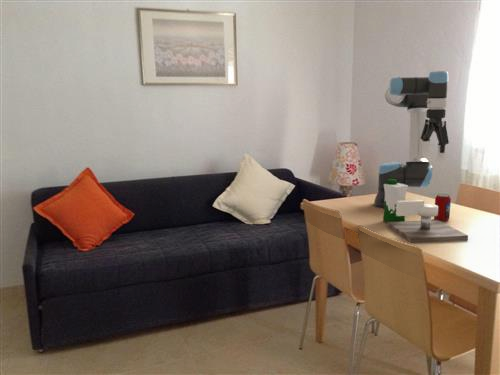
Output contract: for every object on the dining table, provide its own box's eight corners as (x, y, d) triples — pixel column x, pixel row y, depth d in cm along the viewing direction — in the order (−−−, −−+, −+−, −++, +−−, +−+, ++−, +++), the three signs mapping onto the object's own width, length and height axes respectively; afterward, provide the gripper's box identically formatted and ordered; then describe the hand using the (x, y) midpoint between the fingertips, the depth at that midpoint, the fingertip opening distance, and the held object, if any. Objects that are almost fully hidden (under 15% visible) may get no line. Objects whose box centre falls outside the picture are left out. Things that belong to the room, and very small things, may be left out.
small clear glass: (418, 227, 191) (419, 213, 189) (427, 226, 191) (428, 213, 190) (423, 229, 187) (424, 216, 185) (432, 229, 187) (433, 215, 186)
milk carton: (393, 218, 212) (395, 177, 208) (408, 223, 204) (410, 180, 200) (379, 221, 208) (381, 179, 204) (394, 225, 200) (396, 182, 196)
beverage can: (450, 221, 206) (452, 196, 203) (435, 221, 207) (437, 196, 205) (447, 218, 212) (449, 193, 210) (432, 217, 213) (434, 193, 211)
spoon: (430, 210, 192) (431, 197, 191) (441, 216, 184) (443, 202, 182) (392, 212, 190) (393, 199, 189) (402, 218, 182) (402, 203, 180)
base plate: (386, 226, 200) (387, 221, 199) (437, 224, 202) (437, 219, 202) (411, 242, 176) (411, 237, 176) (467, 240, 179) (468, 235, 178)
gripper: (414, 107, 199) (411, 154, 204) (442, 110, 175) (438, 162, 179) (430, 107, 200) (427, 153, 204) (460, 109, 175) (456, 162, 180)
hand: (432, 158), depth 192 cm, fingers open, 13 cm apart
